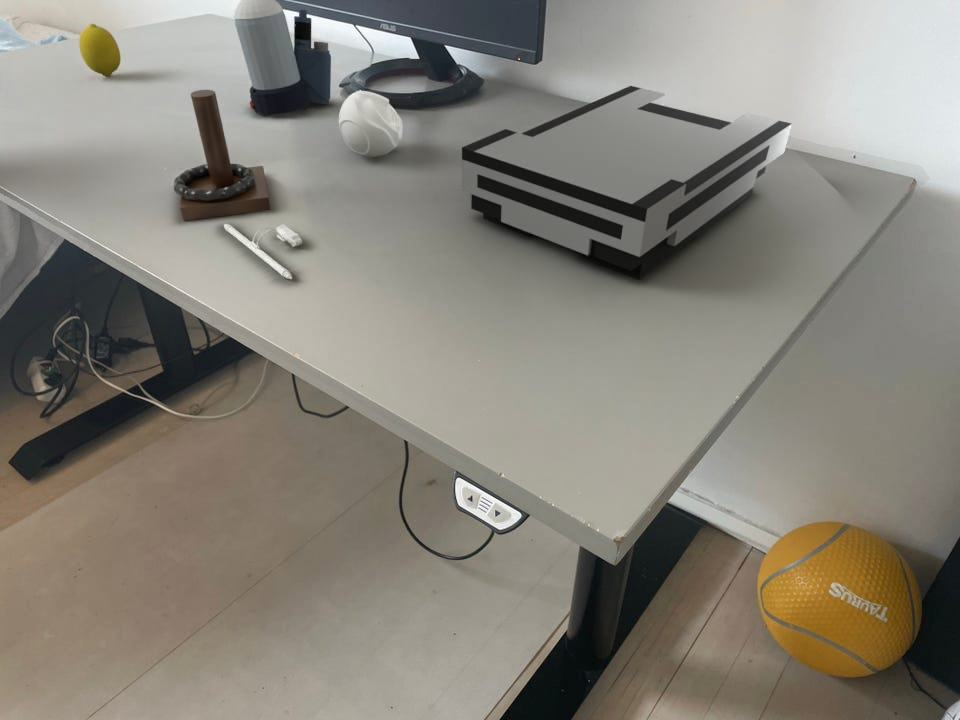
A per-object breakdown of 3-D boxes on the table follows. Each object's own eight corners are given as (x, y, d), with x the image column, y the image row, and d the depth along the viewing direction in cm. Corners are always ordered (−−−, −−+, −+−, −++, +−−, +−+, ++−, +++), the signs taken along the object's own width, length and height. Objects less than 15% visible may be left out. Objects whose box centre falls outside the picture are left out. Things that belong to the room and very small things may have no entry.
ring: (175, 207, 74) (172, 197, 74) (176, 176, 81) (173, 166, 80) (257, 197, 77) (255, 187, 76) (252, 167, 83) (250, 157, 82)
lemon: (119, 70, 118) (104, 18, 113) (131, 78, 115) (116, 24, 110) (84, 76, 115) (67, 23, 110) (95, 84, 112) (78, 30, 107)
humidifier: (242, 112, 103) (181, -92, 88) (283, 94, 108) (233, -101, 93) (281, 117, 99) (224, -96, 84) (322, 99, 104) (276, -105, 89)
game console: (775, 182, 84) (795, 112, 79) (633, 292, 65) (647, 209, 60) (623, 139, 95) (631, 75, 90) (462, 223, 75) (461, 147, 70)
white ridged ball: (398, 167, 87) (393, 103, 82) (336, 166, 87) (328, 101, 82) (407, 143, 93) (403, 82, 88) (349, 141, 93) (343, 81, 89)
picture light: (221, 228, 74) (217, 210, 73) (260, 216, 76) (256, 198, 75) (288, 283, 66) (284, 262, 64) (329, 267, 68) (326, 247, 67)
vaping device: (295, 98, 106) (295, 8, 100) (331, 102, 106) (333, 13, 101) (291, 100, 103) (291, 9, 98) (328, 105, 104) (330, 14, 98)
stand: (183, 221, 75) (153, 111, 68) (184, 186, 82) (158, 84, 75) (270, 210, 78) (250, 103, 70) (265, 177, 84) (246, 76, 77)
